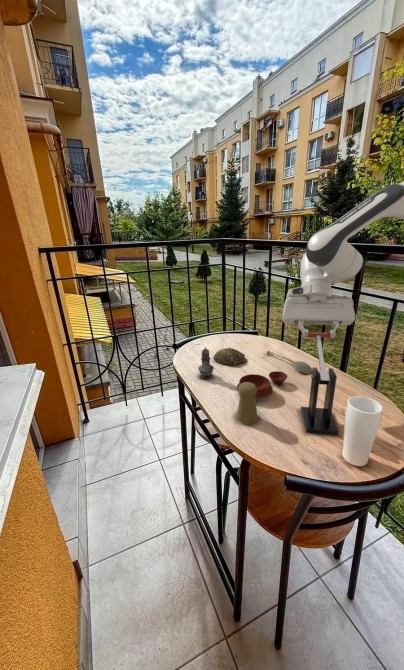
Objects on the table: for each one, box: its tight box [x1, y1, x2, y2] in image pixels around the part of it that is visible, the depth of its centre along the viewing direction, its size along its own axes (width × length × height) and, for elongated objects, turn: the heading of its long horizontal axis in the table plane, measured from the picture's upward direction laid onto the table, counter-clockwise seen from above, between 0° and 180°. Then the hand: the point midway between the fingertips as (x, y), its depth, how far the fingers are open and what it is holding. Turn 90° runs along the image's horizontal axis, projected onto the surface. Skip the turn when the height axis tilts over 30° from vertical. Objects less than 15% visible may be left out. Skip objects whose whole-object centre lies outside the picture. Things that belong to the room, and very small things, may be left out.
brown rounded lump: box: [213, 347, 246, 366], centre depth 118 cm, size 13×12×5 cm
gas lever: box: [307, 331, 330, 386], centre depth 78 cm, size 16×6×2 cm
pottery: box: [236, 370, 288, 399], centre depth 95 cm, size 12×20×4 cm, turn 123°
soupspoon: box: [266, 350, 313, 375], centre depth 113 cm, size 22×3×7 cm
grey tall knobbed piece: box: [197, 347, 215, 381], centre depth 103 cm, size 6×6×12 cm
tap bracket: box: [300, 367, 339, 436], centre depth 76 cm, size 10×8×16 cm
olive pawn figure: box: [236, 382, 258, 425], centre depth 80 cm, size 6×6×11 cm
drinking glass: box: [341, 395, 383, 467], centre depth 63 cm, size 7×7×15 cm
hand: (318, 336), depth 81 cm, fingers closed on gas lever, 6 cm apart
